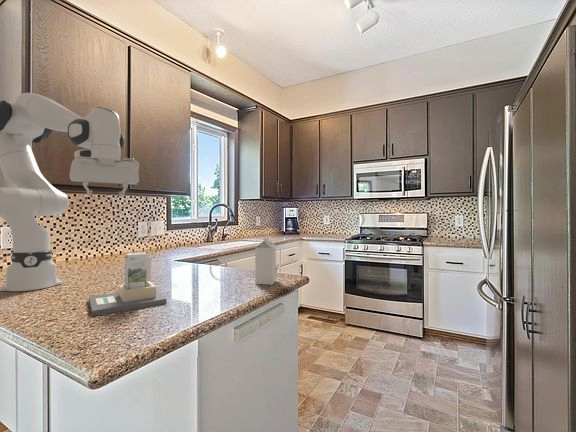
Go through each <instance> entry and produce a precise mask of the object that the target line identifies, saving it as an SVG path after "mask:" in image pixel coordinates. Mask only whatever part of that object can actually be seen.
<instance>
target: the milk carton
mask: <svg viewBox="0 0 576 432" xmlns="http://www.w3.org/2000/svg"><path fill="white" fill-rule="evenodd" d="M262 240H263V241H261V243H259V244H258V245H257V246H256V247H255V250H254V252H255V253H254V254H255V257H254V258H255V261H254V262H255V269H254V271H255V272H254V273H255V283H254V284H255V285H267V286H268V285H271V286H273V284H274V283H275V282H276V279H277V276H276V275H277V274H276V273H277V271H276V269H277V266H276V265H277V263H276V262H277V261H276V260H277V258H276V257H277V256H276V255H277V254H276V253H277V250H276V248H277V247H276V245H275V244H274V241H272V240H269V237H268V236H267V237H264V238H263V239H262Z"/></svg>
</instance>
